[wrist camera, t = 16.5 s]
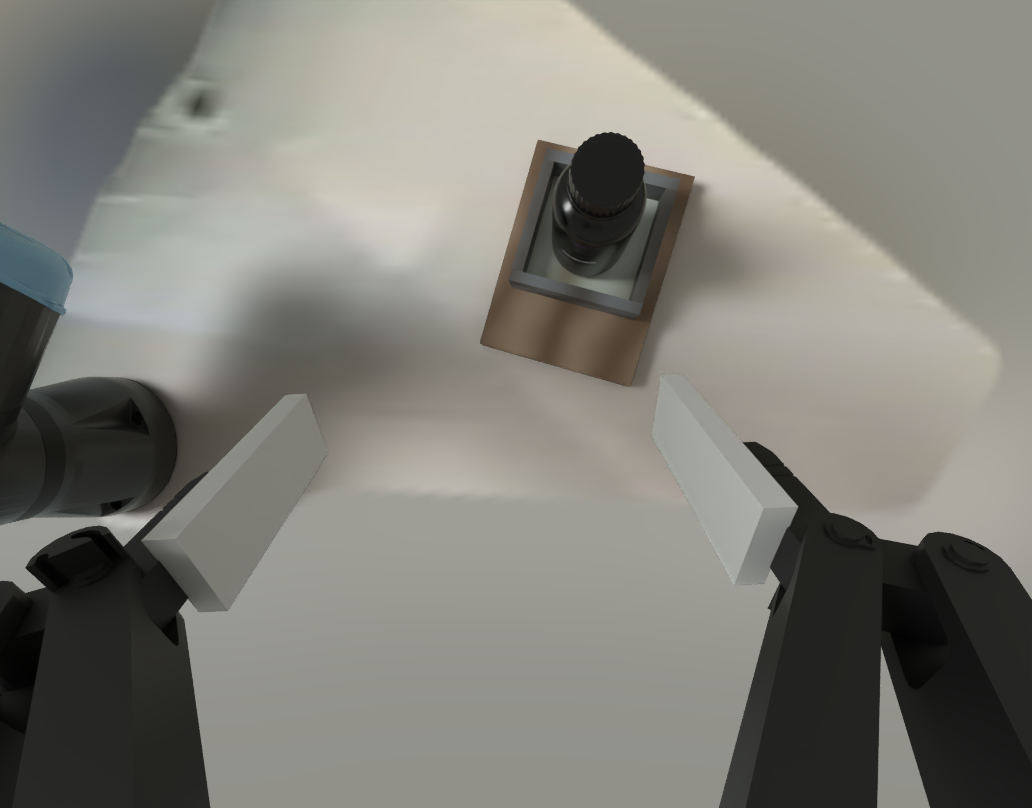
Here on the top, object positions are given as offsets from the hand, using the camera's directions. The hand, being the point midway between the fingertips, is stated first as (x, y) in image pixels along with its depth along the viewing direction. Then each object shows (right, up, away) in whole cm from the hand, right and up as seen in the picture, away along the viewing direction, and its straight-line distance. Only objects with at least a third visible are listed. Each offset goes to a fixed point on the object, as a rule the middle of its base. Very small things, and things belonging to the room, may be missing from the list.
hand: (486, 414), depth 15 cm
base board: (+8, +14, +24) cm, 28 cm away
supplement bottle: (+8, +16, +22) cm, 28 cm away
